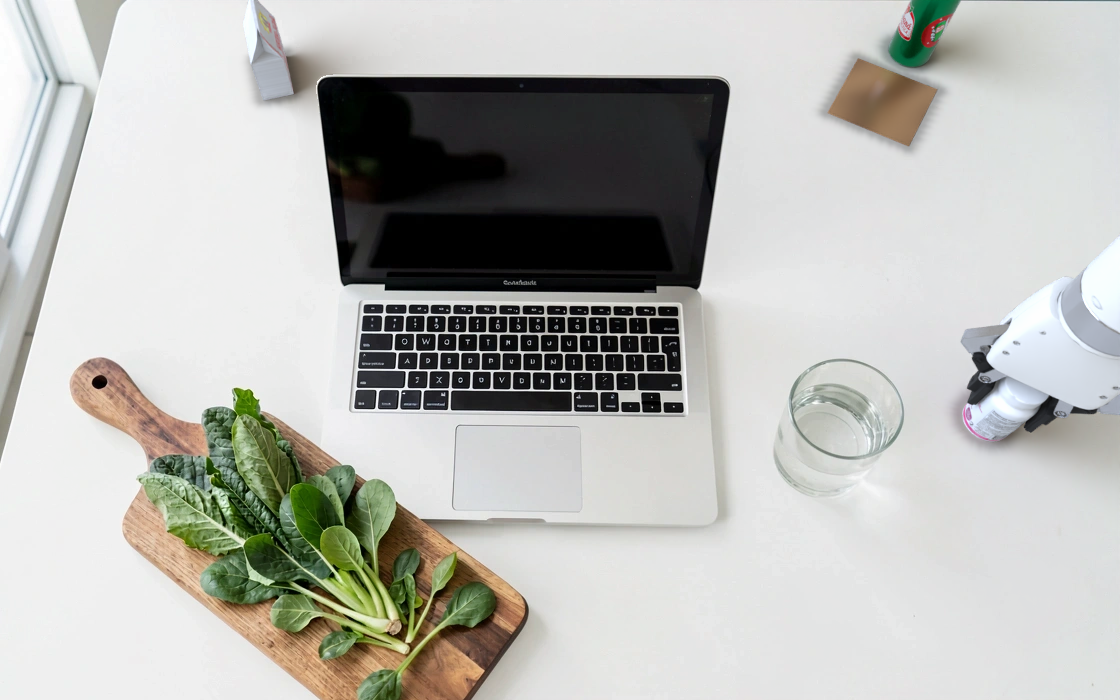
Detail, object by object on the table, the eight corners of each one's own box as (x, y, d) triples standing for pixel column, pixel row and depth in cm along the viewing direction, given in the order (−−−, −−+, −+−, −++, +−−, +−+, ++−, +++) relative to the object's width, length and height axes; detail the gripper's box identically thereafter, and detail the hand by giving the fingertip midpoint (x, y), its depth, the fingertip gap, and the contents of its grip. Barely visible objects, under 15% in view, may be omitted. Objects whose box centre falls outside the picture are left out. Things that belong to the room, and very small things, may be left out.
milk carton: (263, 102, 108) (241, 37, 99) (256, 61, 110) (233, -6, 101) (294, 96, 108) (274, 30, 99) (286, 55, 111) (265, -12, 102)
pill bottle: (966, 391, 91) (1008, 352, 83) (1014, 410, 90) (1060, 373, 82) (955, 430, 89) (996, 394, 81) (1003, 450, 88) (1049, 416, 80)
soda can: (887, 37, 112) (926, -47, 101) (928, 43, 111) (972, -41, 100) (885, 67, 110) (926, -16, 99) (928, 73, 109) (973, -9, 98)
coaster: (936, 91, 108) (937, 89, 108) (907, 148, 104) (909, 146, 104) (856, 60, 110) (858, 57, 110) (826, 115, 106) (827, 112, 106)
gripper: (1241, 320, 69) (1102, 415, 86) (1022, 228, 73) (929, 336, 89) (1220, 396, 66) (1081, 480, 83) (994, 297, 70) (903, 395, 87)
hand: (1003, 404), depth 86 cm, fingers closed on pill bottle, 4 cm apart
